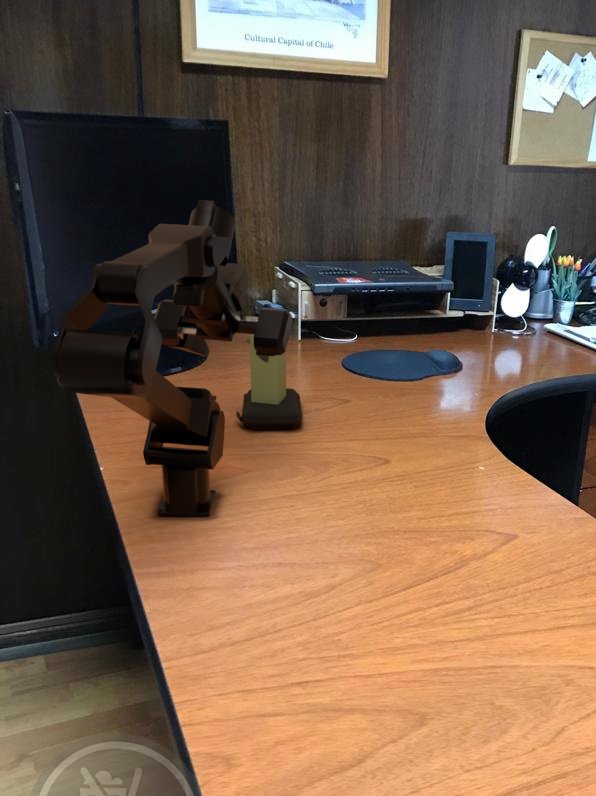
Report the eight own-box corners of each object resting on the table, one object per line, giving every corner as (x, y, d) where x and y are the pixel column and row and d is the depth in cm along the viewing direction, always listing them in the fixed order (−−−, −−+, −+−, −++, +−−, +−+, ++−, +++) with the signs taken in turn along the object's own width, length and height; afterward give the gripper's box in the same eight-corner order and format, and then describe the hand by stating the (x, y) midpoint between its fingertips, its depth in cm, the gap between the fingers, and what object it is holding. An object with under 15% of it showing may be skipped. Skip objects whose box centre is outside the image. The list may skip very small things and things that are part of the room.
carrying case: (238, 401, 136) (235, 432, 122) (238, 385, 135) (234, 414, 121) (299, 401, 137) (303, 432, 124) (299, 385, 136) (303, 414, 123)
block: (278, 404, 126) (277, 326, 121) (251, 402, 127) (249, 324, 122) (286, 396, 130) (286, 320, 126) (260, 393, 131) (259, 318, 126)
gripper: (288, 250, 101) (309, 315, 116) (154, 241, 104) (191, 305, 118) (270, 322, 97) (294, 381, 111) (131, 310, 100) (172, 369, 114)
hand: (237, 356), depth 114 cm, fingers open, 9 cm apart
